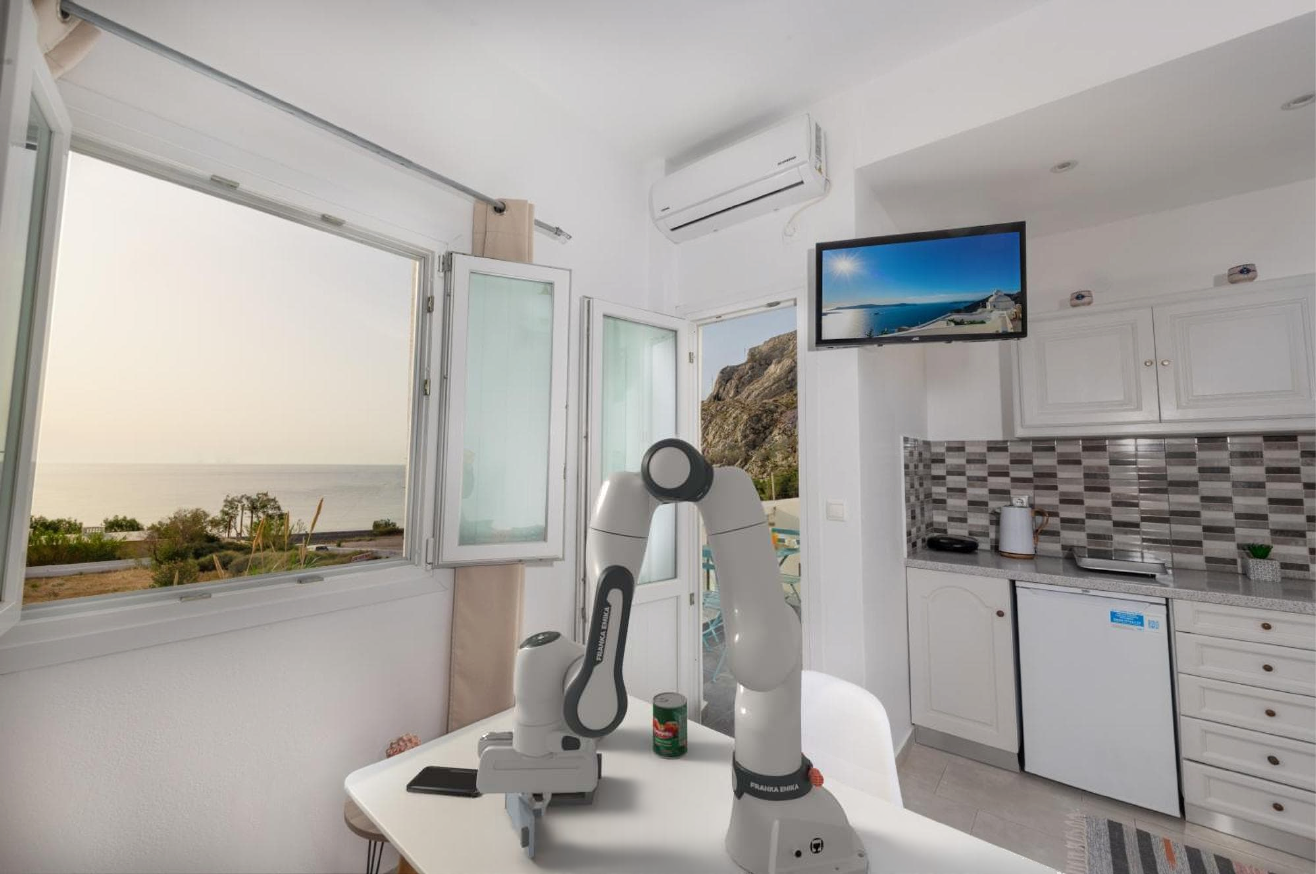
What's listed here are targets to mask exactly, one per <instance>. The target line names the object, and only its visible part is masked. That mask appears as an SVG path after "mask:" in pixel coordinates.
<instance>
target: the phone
mask: <svg viewBox="0 0 1316 874" xmlns="http://www.w3.org/2000/svg"><path fill="white" fill-rule="evenodd" d="M477 774H478V769H475V768H466V767H465V768H464V767H451V766H450V767H449V766H440V765H439V766H438V765H428V766H425V767H423V768H422V769H421V770H420V771H419V772H418V773H417V774H416V775H415V776H414V777H413V778H412V779H411V780H410V781H409V782H408V783H407V784H406V788H405V790H406V792H407V793H414V794H416V793H417V794H427V795H428V794H429V795H438V796H449V797H458V798H459V797H460V796H461V798H471V797H472V798H475V797H478V796H480V795H481V793H480V792H479V791H478V789H477V787H476V784H477ZM477 795H478V796H477Z"/></svg>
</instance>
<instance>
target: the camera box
mask: <svg viewBox="0 0 1316 874" xmlns="http://www.w3.org/2000/svg"><path fill="white" fill-rule="evenodd" d="M593 741H594V743H595V747H596V748H597V741H598V740H593ZM597 761H598V780H602V771H603V768H602V767H603V753H598V752H597ZM595 789H596V787H595V788H594V790H593V791H591V792H553V793H552V796H551V799H550V801H549V802H548V804H547V806H546V808H547V807H571V806H573V807H574V806H593V805H594V798H595ZM522 795H523V793H522ZM533 797H534V799H535V801H536V802H543V800H544V798H543V793H533Z"/></svg>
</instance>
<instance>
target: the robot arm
mask: <svg viewBox="0 0 1316 874" xmlns="http://www.w3.org/2000/svg"><path fill="white" fill-rule="evenodd" d="M685 502H686V503H688V502H689V503H690V502H691V503H692V504H694V505H695V506H696V507H697V509H698V511H699V512H700V515H701V519H702V522H703V525H704V530H705V531H704V532H705V534H706V538H707V542H708V546H709V550H710V553H711V554H710V555H711V559H712V563H713V566H714V570H715V574H716V579H717V585H718V591H719V601H720V611H721V619H722V626H723V632H724V639H725V652H726V653H725V654H726V655H725V657H726V665H727V668H728V670H729V672H730V674H731V676H732V677H733V679H734V680H735V681H736V682H737V683H736V691H735V692H736V693H735V699H734V707H733V708H734V750H733V752H732V757H731V758H732V761H731V787H732V791H733V799H732V807H731V812H730V813H731V814H730V819H729V824H728V828H727V832H726V835H725V846H726V849H727V852H728V854H729V855H730V856H731V858H732V859H733V860H734V861H735V862H736V863H737V864H738V865H739V866H740V867H742V868H743V869H744V870H746V871H747V872H749V873H751V874H868V873H869V872H868V871H869V858H868V854H867V850H866V847H865V846H864V844H863V841H862V839H861V838H860V837H859V835H858V833H857V832H856V831H855V829H854V828H853V827H852V826H851V824H850V822H849V820H848V817H847V814H846V812H845V810H844V808H843V807H842V805H841V803H840V802H839V800H838V799H837V798H836V797H835V795H834V794H833V793H832V792H831V791H829V790H828V789H827V788H826V787H824V786H823V785H824V783H825V782H824V781H825V779H824V776H823V775H822V773H821V771H820V770H819V769H818V768H814V764H813V763H812V761H811V760H810V759H809V758H808V757H807V756H806V755H805V754H804V752H803V751H802V708H801V707H802V672H803V671H802V670H803V667H802V666H803V664H802V663H803V662H802V661H803V659H802V658H803V629H802V624H801V621H800V619H799V616H798V614H797V613H796V610H795V609H794V608H793V607H792V606H791V605H790V604H789V603H787V602H786V597H785V592H784V585H783V580H782V575H781V566H780V562H779V558H778V554H777V551H776V547H775V543H774V540H773V536H772V533H771V529H770V525H769V522H768V518H767V514H766V512H765V509H764V506H763V504H762V500H761V498H760V495H759V493H758V491H757V488H756V487H755V483H754V482H753V480H752V477H751V476H750V474H749V473H748V472H747V471H746V470H745V469H743V468H740V467H739V466H738V467H737V466H733V465H732V466H731V465H728V466H721V467H720V466H719V467H713V465H712V464H711V463H710V462H709V461H708V460H707V459H706V457H704V456H703V455H702V454H701V452H699V450H698V449H697V448H696V447H694V446H693V445H692V444H691V443H689V442H687V441H686V440H683V439H680V438H675V437H674V438H673V437H672V438H664V439H661V440H658V441H657V442H655V443H654V444H652V445H651V446H649V448H648V449H647V450H646V451H645V453H644V454H643V457H642V461H641V464H640V470H639V471H627V470H623V471H616V472H613V473H610V474H608V475H607V476H606V477H605V478H604V480H603V482H602V484H601V486H600V488H599V491H598V493H597V497H596V499H595V503H594V506H593V509H592V512H591V516H590V520H589V525H588V526H589V527H588V530H587V536H586V537H587V538H586V545H585V546H586V547H585V566H586V572H587V577H588V582H589V586H590V588H589V589H590V595H591V615H590V619H589V620H590V621H589V626H588V632H587V639H586V644H582V643H580V642H576V641H574V640H571V639H570V638H568V637H566V636H564V635H563V634H562V633H561V632H559V631H550V630H547V631H541V632H538V633H535V634H532V635H531V636H529V637H527V638H526V639H524V640H523V642H522V643H521V644H520V645H519V647H518V649H517V652H516V655H515V662H514V670H513V671H514V673H513V695H514V698H515V699H514V700H515V706H514V710H513V714H512V731H501V732H495V731H491V732H487V733H486V734H484V735H483V736H481V737H480V738H479V739H478V742H477V756H478V758H479V763H478V774H477V784H476V787H477V789H478V791H479V792H480V795H482V794H483V795H493V794H499V795H500V794H505V793H523V799H524V801H525V803H527V804H528V806H529V808H530V810H531V812H532V813H533V815H534V819H545V818H546V814H547V807H546V806H547V804H548V802H549V801H550V799H551V796H552V793H553V792H591V791H593V790H594V788H595V789H596V787H597V786H598V761H597V753H598V752H597V746H596V747H595V743H594V741H593V740H592V738H599V737H602V738H604V737H605V736H607V735H609V734H611V733H612V732H614V731H615V730H616V729H617V728H618V727H619V726H620V725H621V724H622V723H623V721H624V719H625V718H626V715H627V712H628V706H629V701H628V700H629V699H628V693H627V688H626V686H625V682H624V673H623V665H624V659H625V658H624V657H625V652H626V643H627V639H628V630H629V625H630V616H631V611H632V610H631V609H632V605H633V604H632V603H633V600H634V596H635V593H636V588H637V585H638V581H639V578H640V574H641V569H642V567H643V563H644V561H645V555H646V551H647V549H648V548H647V547H648V542H649V536H650V531H651V530H650V529H651V525H652V522H653V521H652V520H653V517H654V514H655V511H656V510H657V508H658V507H659V506H663V505H668V504H669V505H670V504H681V503H685ZM594 791H595V790H594ZM533 793H543V798H544V800H543V802H536V801H535V799H534V797H533Z"/></svg>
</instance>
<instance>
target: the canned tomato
mask: <svg viewBox="0 0 1316 874" xmlns="http://www.w3.org/2000/svg"><path fill="white" fill-rule="evenodd" d="M688 749H689V748H688V698H687V696H685V695H684V694H681V693H679V692H672V691H667V692H665V691H664V692H660V693H657V694H655V695H654V696H653V697H652V752H653V754H654V753H655V754H654V755H655V756H657V757H659V758H661V759H663V760H665V759H666V760H677V759H681V758H683V757H685V755H687V753H688ZM680 757H681V758H680Z"/></svg>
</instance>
